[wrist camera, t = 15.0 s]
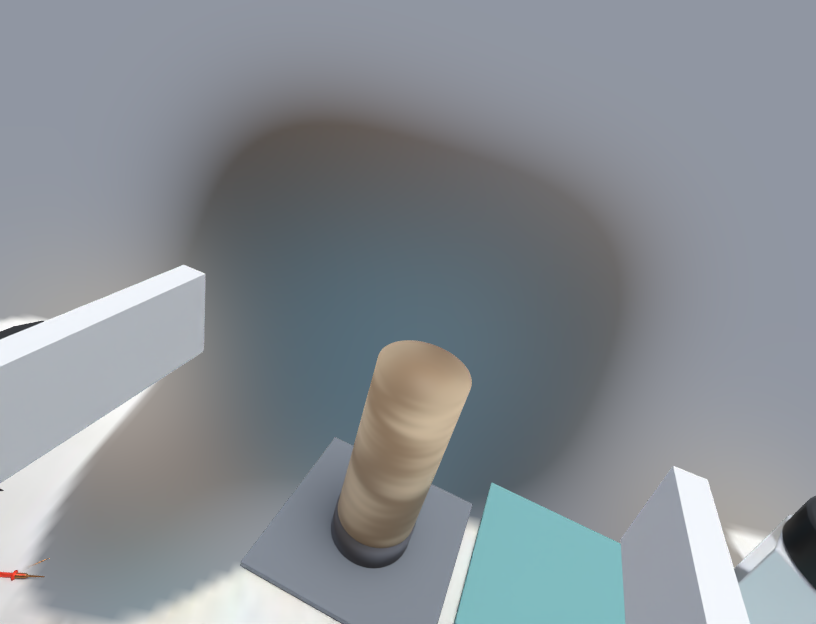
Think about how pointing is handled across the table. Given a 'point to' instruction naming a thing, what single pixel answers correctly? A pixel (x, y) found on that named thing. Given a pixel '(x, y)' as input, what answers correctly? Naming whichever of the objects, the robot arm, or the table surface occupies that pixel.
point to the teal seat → (539, 568)
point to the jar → (782, 572)
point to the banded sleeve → (397, 450)
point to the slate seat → (345, 581)
